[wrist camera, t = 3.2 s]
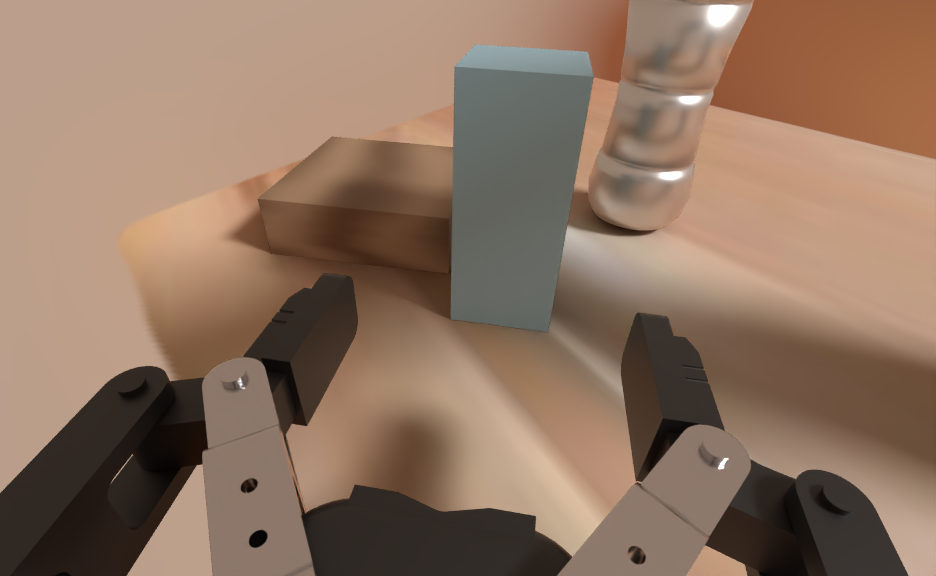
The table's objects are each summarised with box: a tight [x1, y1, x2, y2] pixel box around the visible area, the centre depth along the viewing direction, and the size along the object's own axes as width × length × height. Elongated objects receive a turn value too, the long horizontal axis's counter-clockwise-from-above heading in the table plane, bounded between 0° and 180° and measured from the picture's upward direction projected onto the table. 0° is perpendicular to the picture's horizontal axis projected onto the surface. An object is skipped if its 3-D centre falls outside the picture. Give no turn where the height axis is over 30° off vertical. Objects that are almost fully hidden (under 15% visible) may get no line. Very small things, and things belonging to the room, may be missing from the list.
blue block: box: [451, 45, 594, 332], centre depth 22 cm, size 5×5×12 cm
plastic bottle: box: [588, 0, 754, 230], centre depth 28 cm, size 6×7×20 cm
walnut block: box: [258, 137, 453, 274], centre depth 32 cm, size 11×11×4 cm
